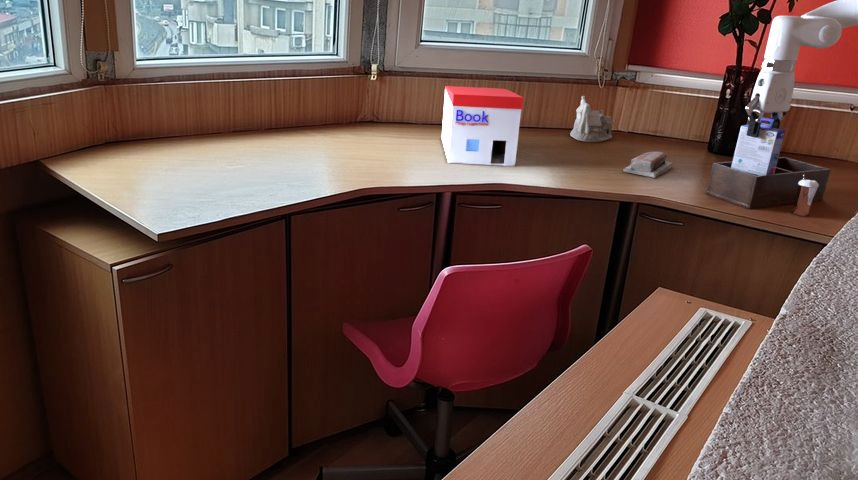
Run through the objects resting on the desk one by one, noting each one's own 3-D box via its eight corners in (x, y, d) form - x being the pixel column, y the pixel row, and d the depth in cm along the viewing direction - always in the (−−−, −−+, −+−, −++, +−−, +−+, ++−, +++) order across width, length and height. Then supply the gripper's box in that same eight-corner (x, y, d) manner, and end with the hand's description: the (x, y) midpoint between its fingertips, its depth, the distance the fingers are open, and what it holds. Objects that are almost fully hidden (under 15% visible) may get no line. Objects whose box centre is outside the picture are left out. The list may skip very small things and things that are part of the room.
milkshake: (803, 210, 189) (813, 174, 185) (813, 217, 184) (824, 179, 180) (785, 210, 189) (795, 173, 185) (795, 216, 184) (805, 178, 180)
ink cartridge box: (775, 174, 193) (789, 121, 187) (766, 177, 189) (780, 123, 184) (738, 166, 199) (751, 114, 194) (729, 169, 196) (742, 116, 190)
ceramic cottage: (575, 140, 258) (583, 98, 253) (566, 133, 273) (574, 93, 268) (618, 145, 258) (627, 103, 253) (607, 137, 273) (615, 97, 268)
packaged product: (658, 162, 212) (625, 157, 217) (655, 178, 213) (622, 172, 219) (675, 152, 225) (643, 147, 230) (672, 167, 227) (641, 162, 232)
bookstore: (448, 163, 220) (453, 94, 212) (441, 138, 252) (445, 78, 245) (515, 166, 220) (523, 97, 212) (500, 141, 253) (506, 80, 245)
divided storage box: (822, 200, 199) (831, 169, 196) (749, 209, 188) (757, 176, 185) (777, 186, 212) (784, 156, 208) (706, 193, 201) (712, 162, 197)
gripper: (766, 69, 177) (749, 140, 184) (814, 68, 184) (796, 137, 191) (741, 65, 184) (726, 134, 190) (788, 64, 190) (772, 131, 197)
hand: (761, 135), depth 191 cm, fingers closed on ink cartridge box, 6 cm apart
